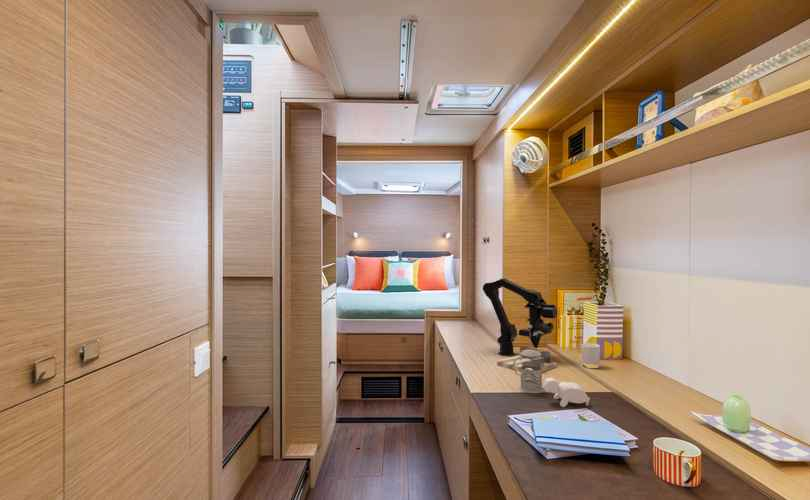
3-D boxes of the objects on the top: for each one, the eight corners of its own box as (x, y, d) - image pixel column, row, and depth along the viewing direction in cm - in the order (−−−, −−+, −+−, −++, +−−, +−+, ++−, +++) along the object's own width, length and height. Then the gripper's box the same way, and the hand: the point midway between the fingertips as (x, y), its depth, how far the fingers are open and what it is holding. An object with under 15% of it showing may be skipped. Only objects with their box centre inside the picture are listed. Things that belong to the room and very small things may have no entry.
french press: (547, 393, 147) (544, 327, 148) (515, 392, 150) (512, 326, 150) (543, 385, 157) (541, 322, 157) (513, 384, 159) (511, 322, 160)
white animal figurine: (576, 406, 142) (537, 391, 143) (584, 384, 142) (545, 369, 143) (585, 416, 134) (543, 399, 135) (594, 393, 133) (552, 376, 135)
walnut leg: (552, 361, 182) (551, 352, 183) (547, 362, 180) (546, 353, 181) (524, 354, 196) (524, 346, 196) (519, 355, 194) (519, 347, 194)
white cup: (578, 365, 182) (577, 344, 183) (589, 363, 186) (589, 342, 186) (592, 370, 175) (591, 347, 175) (604, 367, 179) (603, 345, 179)
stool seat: (496, 364, 187) (496, 352, 187) (521, 358, 197) (521, 346, 197) (531, 374, 171) (531, 361, 171) (556, 367, 181) (556, 354, 181)
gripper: (536, 321, 184) (537, 354, 184) (560, 316, 195) (561, 348, 195) (517, 318, 194) (518, 349, 194) (541, 314, 204) (542, 344, 204)
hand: (536, 348), depth 196 cm, fingers closed
